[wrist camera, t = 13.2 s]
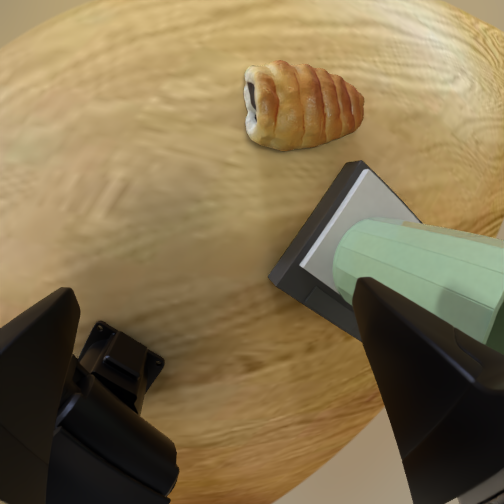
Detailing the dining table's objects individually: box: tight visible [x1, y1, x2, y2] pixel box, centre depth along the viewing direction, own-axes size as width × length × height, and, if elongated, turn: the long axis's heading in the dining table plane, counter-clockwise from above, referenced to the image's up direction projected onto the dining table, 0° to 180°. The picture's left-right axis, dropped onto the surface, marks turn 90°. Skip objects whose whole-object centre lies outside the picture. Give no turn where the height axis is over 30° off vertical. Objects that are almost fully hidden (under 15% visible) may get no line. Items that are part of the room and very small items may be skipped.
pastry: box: [244, 60, 364, 151], centre depth 19 cm, size 9×7×4 cm
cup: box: [333, 217, 504, 355], centre depth 14 cm, size 7×7×13 cm
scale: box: [268, 160, 422, 342], centre depth 22 cm, size 11×10×3 cm
